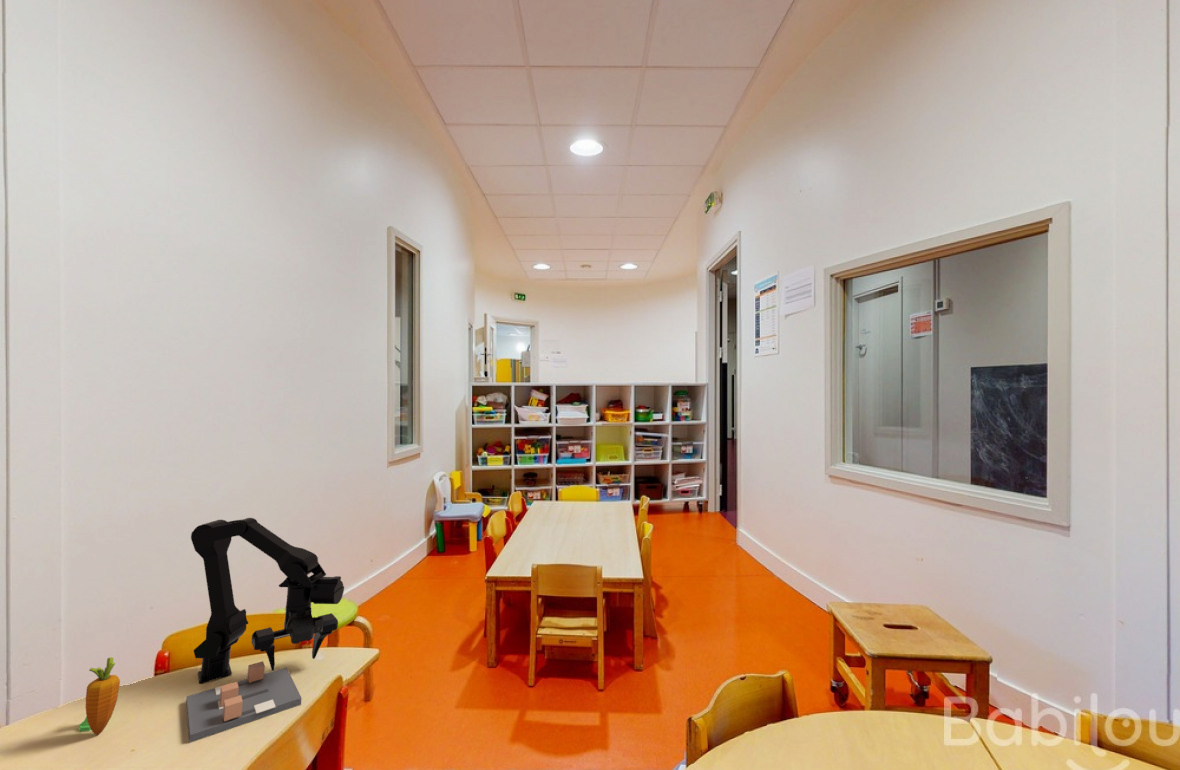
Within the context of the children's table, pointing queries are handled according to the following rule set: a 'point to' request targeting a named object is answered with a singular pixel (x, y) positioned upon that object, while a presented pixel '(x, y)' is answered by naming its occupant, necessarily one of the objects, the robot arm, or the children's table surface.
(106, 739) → the children's table surface
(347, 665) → the children's table surface
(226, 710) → the slider near
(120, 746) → the children's table surface
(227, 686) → the slider middle
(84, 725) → the game piece
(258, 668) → the slider far
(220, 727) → the switch console
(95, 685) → the carrot
